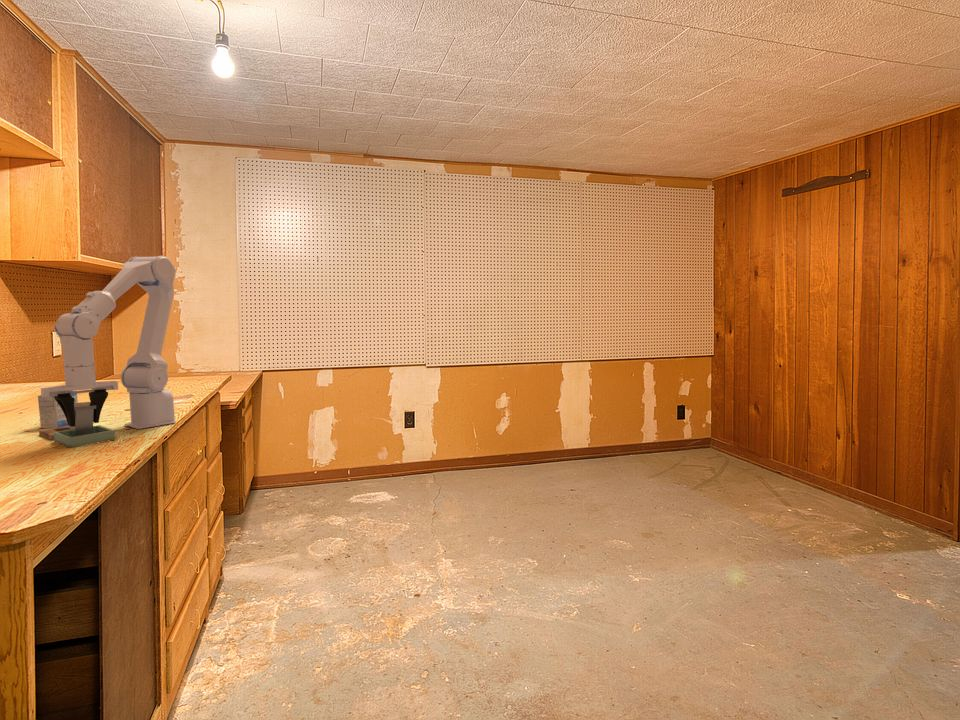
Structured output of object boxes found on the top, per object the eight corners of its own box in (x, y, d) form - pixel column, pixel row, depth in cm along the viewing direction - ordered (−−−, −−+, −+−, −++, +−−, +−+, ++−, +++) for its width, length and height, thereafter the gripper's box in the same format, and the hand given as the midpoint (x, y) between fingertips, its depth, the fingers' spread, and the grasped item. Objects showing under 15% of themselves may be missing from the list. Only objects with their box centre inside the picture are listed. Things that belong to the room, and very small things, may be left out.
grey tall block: (88, 431, 131) (89, 401, 131) (95, 436, 129) (96, 405, 128) (66, 434, 128) (67, 403, 127) (73, 438, 125) (74, 407, 125)
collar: (82, 428, 141) (82, 423, 141) (96, 433, 136) (96, 428, 136) (39, 434, 134) (38, 429, 134) (51, 440, 129) (51, 435, 128)
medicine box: (57, 428, 141) (54, 395, 140) (39, 428, 141) (37, 395, 140) (80, 422, 148) (77, 390, 148) (63, 422, 148) (61, 390, 148)
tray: (99, 434, 135) (99, 425, 135) (115, 439, 129) (114, 430, 129) (54, 441, 127) (53, 432, 127) (68, 447, 122) (67, 438, 122)
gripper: (108, 361, 135) (112, 416, 136) (34, 367, 123) (39, 427, 125) (120, 363, 130) (124, 420, 132) (45, 369, 119) (50, 431, 120)
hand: (83, 424), depth 128 cm, fingers closed on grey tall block, 4 cm apart
